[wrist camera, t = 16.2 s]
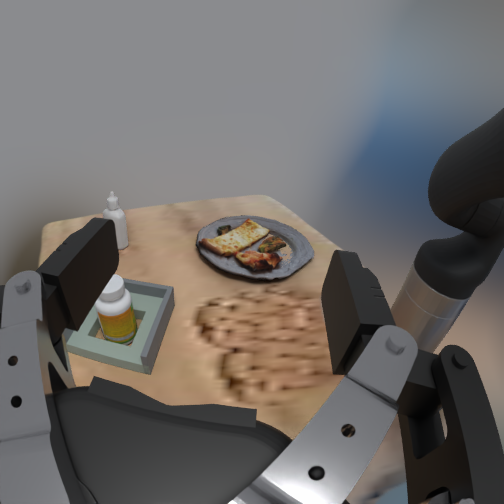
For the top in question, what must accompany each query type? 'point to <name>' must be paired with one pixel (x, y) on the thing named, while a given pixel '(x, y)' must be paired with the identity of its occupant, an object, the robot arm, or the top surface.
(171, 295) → the box
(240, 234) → the food plate
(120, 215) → the eye dropper bottle
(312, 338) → the top surface
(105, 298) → the supplement bottle
